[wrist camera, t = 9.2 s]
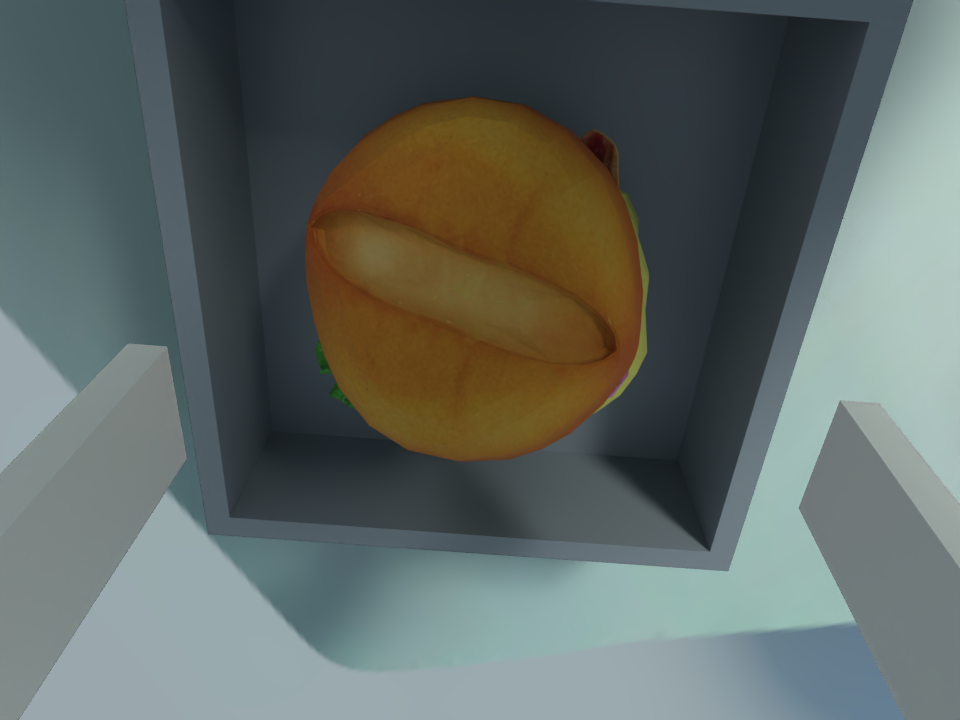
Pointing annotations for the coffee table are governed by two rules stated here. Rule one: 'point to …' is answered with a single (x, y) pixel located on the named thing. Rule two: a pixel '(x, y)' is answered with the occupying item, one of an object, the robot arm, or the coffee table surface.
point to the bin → (642, 175)
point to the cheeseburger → (477, 279)
